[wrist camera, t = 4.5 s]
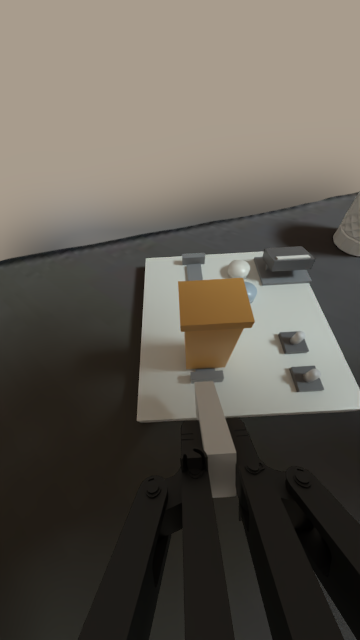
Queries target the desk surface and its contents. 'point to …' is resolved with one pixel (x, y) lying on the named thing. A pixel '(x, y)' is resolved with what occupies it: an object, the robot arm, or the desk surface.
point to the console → (242, 345)
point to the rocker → (288, 258)
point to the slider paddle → (212, 319)
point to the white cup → (350, 230)
